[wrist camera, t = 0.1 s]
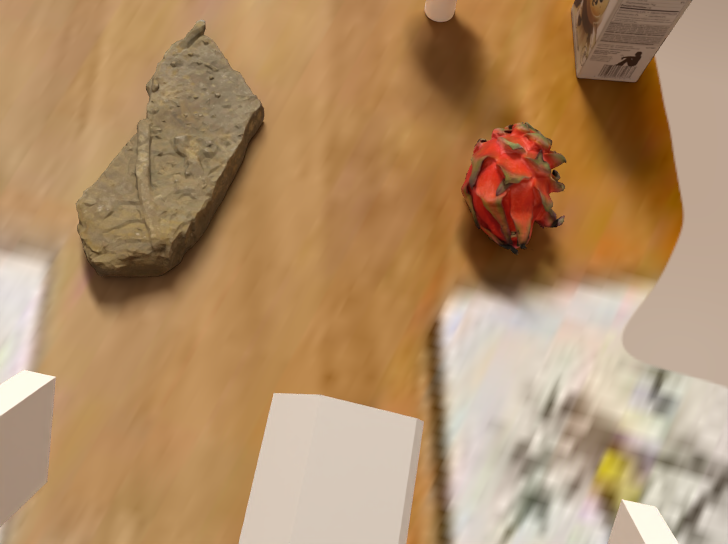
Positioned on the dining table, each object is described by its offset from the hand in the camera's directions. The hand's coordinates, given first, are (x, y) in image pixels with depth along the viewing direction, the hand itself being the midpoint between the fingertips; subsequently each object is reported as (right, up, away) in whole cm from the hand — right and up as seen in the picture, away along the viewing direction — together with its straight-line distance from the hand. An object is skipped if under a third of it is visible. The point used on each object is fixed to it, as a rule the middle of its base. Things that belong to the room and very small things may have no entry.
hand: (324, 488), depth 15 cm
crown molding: (-3, -19, +32) cm, 37 cm away
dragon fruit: (+13, +11, +44) cm, 47 cm away
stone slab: (-15, +15, +45) cm, 50 cm away
